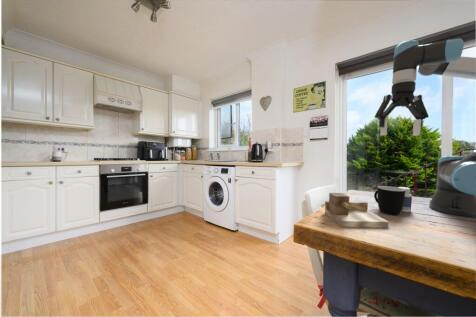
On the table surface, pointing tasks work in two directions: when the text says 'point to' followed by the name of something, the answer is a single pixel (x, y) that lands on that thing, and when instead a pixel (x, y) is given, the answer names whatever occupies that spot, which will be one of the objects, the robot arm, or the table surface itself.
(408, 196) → the pill bottle
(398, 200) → the mug
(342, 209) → the block
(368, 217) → the board
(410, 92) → the robot arm
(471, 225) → the table surface
